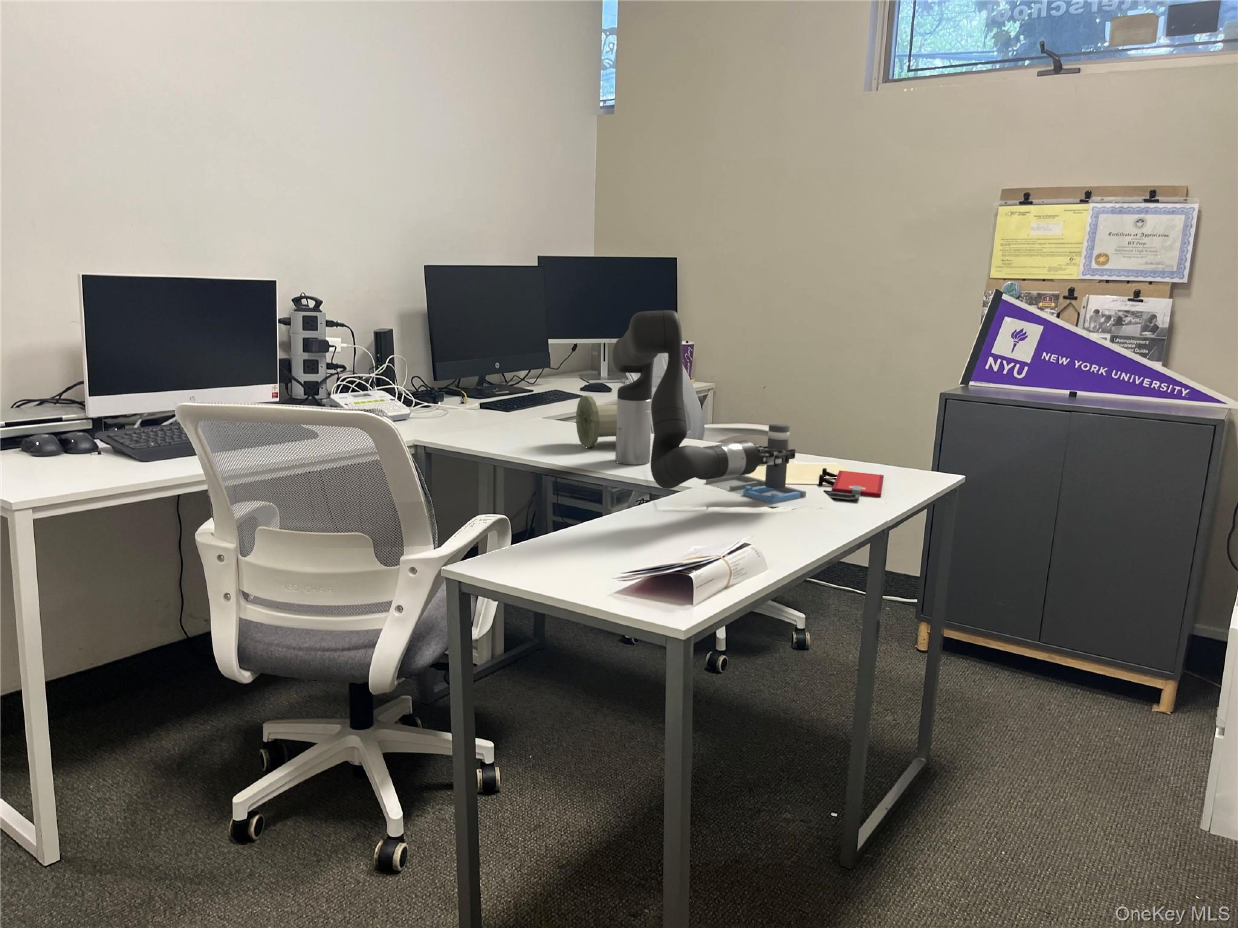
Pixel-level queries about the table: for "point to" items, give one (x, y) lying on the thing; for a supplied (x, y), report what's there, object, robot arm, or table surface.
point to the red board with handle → (852, 484)
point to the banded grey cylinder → (778, 441)
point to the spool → (594, 421)
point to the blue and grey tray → (756, 489)
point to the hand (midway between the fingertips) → (785, 451)
